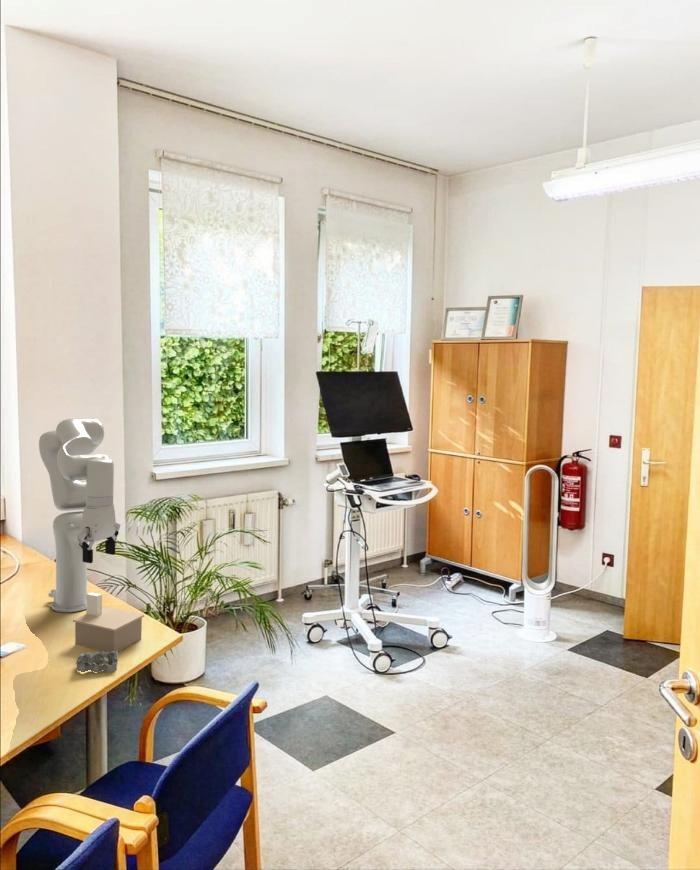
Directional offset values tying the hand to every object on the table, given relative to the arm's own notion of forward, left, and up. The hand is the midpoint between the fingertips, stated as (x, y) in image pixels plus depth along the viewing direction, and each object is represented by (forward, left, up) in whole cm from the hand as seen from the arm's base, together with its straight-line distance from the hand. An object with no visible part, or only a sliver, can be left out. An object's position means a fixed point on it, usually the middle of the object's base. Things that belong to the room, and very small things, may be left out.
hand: (99, 558), depth 208 cm
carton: (+5, -1, -24) cm, 25 cm away
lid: (+5, -1, -18) cm, 18 cm away
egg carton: (+13, -16, -25) cm, 32 cm away
